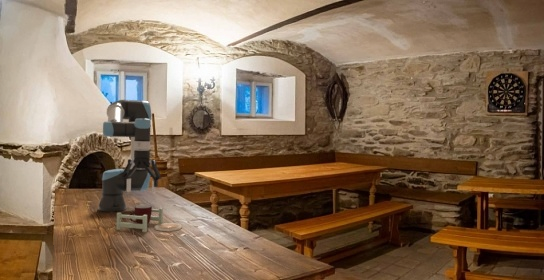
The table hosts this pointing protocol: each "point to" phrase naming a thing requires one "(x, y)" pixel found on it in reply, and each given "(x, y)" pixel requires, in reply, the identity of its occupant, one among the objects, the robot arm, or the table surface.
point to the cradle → (144, 217)
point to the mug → (142, 213)
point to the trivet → (168, 227)
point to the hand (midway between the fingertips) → (141, 192)
